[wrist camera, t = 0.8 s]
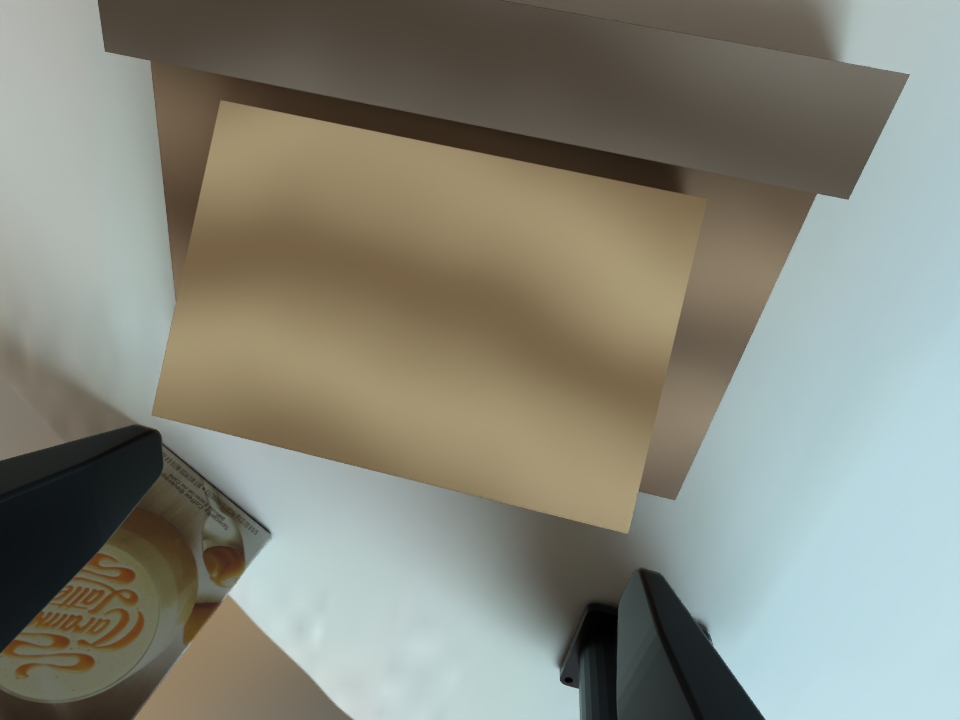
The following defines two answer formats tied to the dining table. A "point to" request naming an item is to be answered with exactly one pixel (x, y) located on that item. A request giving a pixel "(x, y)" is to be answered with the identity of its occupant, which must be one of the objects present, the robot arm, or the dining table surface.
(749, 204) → the floor board
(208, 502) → the coffee box
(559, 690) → the dining table surface
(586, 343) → the tan rectangular panel
